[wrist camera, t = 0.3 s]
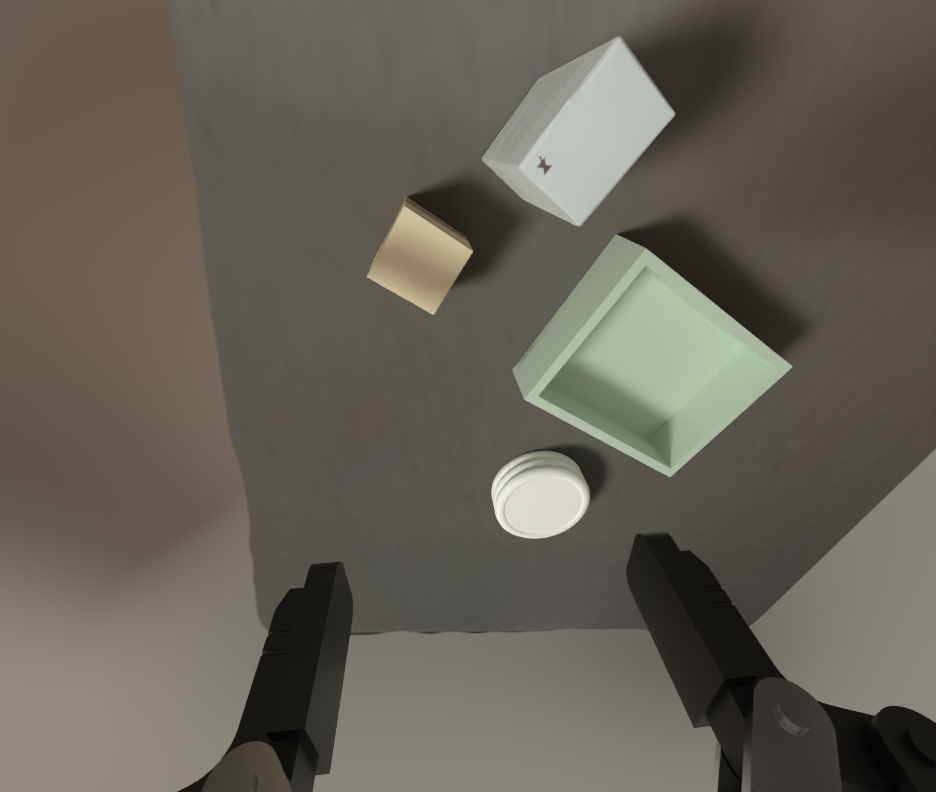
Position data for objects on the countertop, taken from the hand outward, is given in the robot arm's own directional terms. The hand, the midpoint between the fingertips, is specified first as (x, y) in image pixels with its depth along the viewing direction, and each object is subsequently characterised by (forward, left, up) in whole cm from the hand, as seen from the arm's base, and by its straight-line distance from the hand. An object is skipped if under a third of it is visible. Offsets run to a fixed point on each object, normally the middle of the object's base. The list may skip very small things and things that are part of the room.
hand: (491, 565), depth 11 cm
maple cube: (-2, -3, -25) cm, 25 cm away
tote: (-4, +18, -25) cm, 31 cm away
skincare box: (-12, 0, -25) cm, 28 cm away
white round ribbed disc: (+13, +20, -26) cm, 35 cm away
